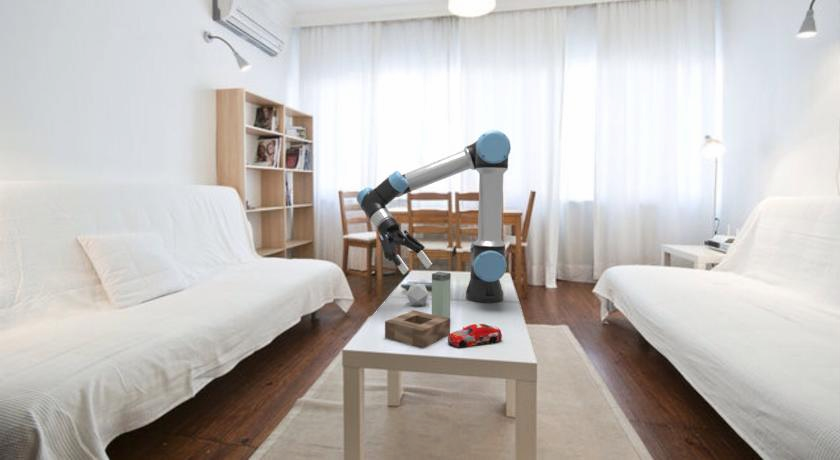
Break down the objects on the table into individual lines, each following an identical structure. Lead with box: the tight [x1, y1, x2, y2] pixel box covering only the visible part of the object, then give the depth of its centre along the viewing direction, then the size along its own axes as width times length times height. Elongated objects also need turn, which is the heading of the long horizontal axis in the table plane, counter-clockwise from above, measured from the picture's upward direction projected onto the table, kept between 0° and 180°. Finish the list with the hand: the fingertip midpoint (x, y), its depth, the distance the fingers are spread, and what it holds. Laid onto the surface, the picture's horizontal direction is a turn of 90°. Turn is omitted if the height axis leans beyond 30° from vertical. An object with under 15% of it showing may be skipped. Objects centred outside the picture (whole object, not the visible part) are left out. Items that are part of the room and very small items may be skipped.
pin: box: [431, 271, 452, 319], centre depth 141 cm, size 4×4×16 cm
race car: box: [447, 323, 503, 349], centre depth 122 cm, size 16×7×5 cm, turn 109°
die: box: [406, 283, 429, 307], centre depth 161 cm, size 8×9×10 cm
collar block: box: [384, 310, 451, 349], centre depth 127 cm, size 14×14×5 cm
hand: (418, 269), depth 146 cm, fingers open, 13 cm apart
